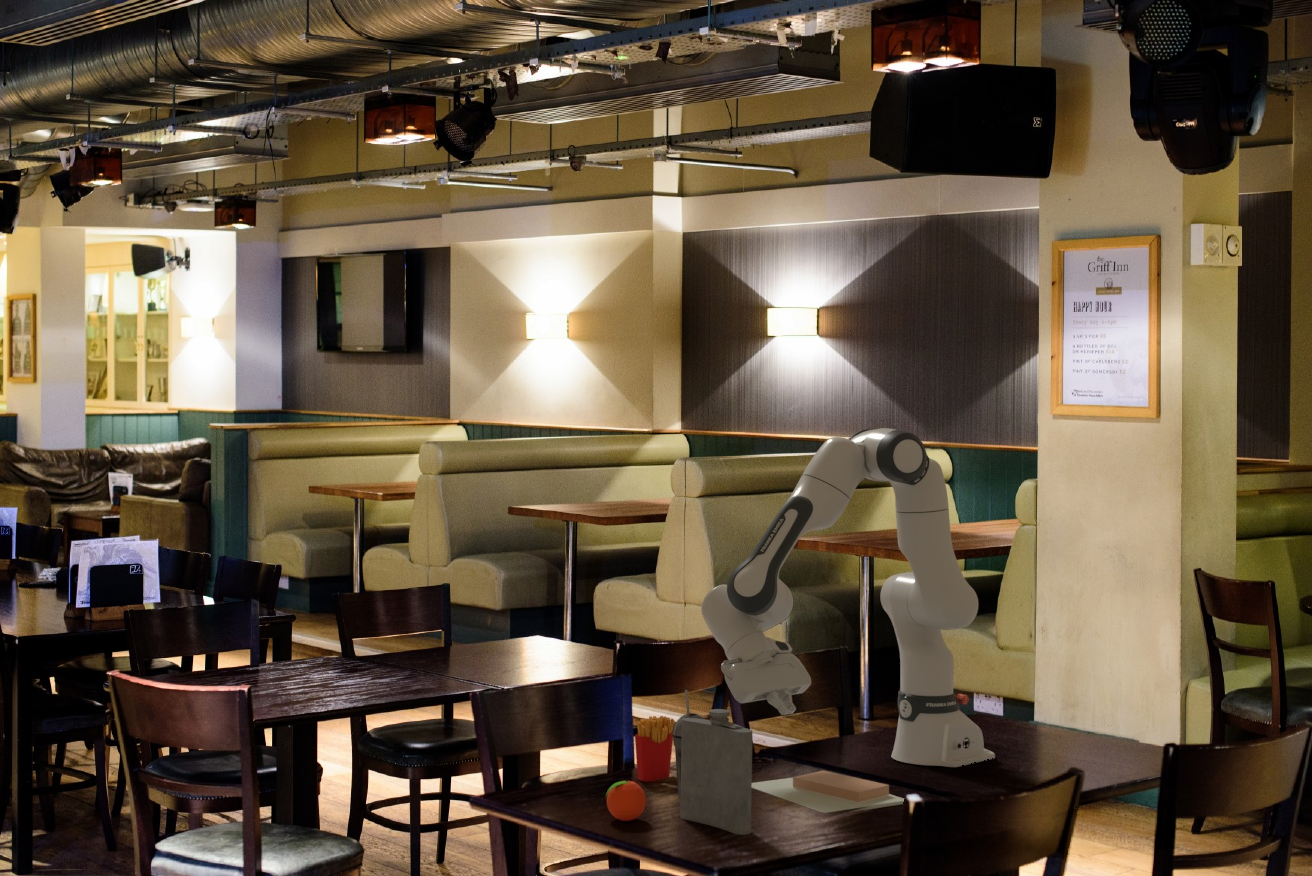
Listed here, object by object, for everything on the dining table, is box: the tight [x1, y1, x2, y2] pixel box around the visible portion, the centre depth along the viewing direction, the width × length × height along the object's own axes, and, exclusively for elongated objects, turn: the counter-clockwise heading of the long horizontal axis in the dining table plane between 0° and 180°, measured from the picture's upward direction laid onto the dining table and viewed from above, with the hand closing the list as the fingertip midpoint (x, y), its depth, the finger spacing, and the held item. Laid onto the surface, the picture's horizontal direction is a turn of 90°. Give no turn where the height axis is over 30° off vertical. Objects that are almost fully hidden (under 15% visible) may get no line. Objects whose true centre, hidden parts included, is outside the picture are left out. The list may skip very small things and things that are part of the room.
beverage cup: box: [672, 689, 705, 799], centre depth 288 cm, size 7×7×20 cm
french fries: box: [634, 715, 676, 782], centre depth 302 cm, size 8×4×12 cm, turn 126°
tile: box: [792, 770, 890, 803], centre depth 291 cm, size 2×9×16 cm
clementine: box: [604, 779, 647, 822], centre depth 270 cm, size 8×7×7 cm
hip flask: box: [679, 708, 753, 836], centre depth 268 cm, size 16×4×20 cm, turn 43°
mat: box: [752, 777, 905, 814], centre depth 291 cm, size 20×25×1 cm
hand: (789, 712), depth 300 cm, fingers closed
